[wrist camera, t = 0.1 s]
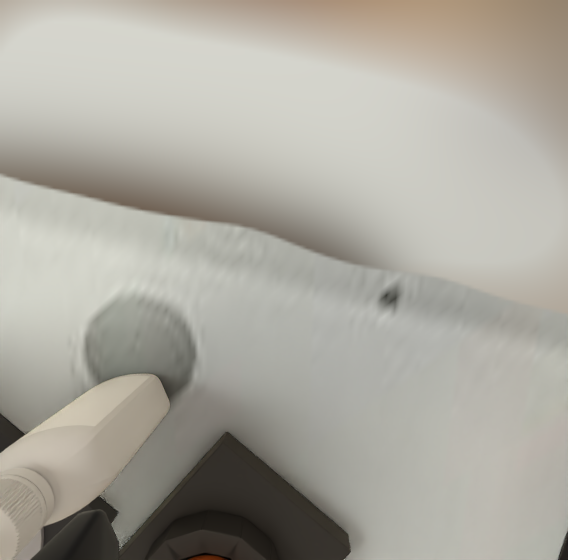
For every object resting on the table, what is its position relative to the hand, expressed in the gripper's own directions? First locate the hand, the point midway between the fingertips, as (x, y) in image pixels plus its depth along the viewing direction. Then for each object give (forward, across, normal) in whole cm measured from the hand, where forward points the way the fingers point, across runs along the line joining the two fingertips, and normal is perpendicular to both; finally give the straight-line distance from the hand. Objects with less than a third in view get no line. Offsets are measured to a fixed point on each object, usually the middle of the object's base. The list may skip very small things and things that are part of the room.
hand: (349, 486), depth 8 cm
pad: (+12, +8, +16) cm, 21 cm away
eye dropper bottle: (+14, +12, +6) cm, 20 cm away
